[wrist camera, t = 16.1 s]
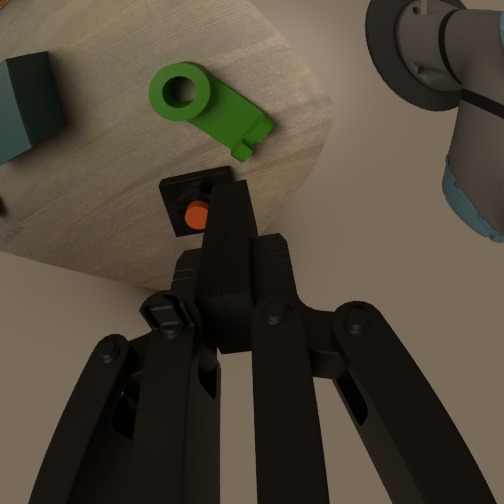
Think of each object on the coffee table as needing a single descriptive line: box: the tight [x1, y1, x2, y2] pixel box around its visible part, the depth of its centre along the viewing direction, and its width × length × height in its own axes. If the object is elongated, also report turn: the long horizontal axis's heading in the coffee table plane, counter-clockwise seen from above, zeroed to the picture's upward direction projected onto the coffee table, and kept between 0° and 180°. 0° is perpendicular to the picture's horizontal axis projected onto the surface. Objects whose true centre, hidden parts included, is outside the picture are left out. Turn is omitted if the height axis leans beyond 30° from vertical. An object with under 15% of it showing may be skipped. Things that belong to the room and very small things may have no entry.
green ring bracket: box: [149, 62, 275, 163], centre depth 32 cm, size 15×7×5 cm, turn 52°
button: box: [185, 200, 209, 229], centre depth 40 cm, size 4×4×2 cm
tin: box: [10, 51, 67, 145], centre depth 26 cm, size 16×13×9 cm
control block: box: [159, 166, 232, 237], centre depth 42 cm, size 10×9×4 cm
